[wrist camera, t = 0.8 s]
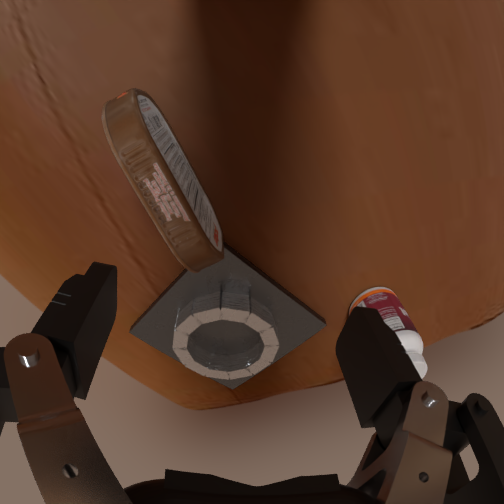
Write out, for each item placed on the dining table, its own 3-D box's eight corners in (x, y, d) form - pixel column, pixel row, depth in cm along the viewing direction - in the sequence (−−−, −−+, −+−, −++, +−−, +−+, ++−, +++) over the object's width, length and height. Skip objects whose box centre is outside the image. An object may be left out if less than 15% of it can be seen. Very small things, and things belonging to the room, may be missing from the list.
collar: (216, 236, 30) (214, 256, 27) (324, 319, 36) (331, 341, 33) (131, 326, 36) (124, 347, 33) (232, 383, 42) (232, 404, 39)
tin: (122, 98, 23) (78, 111, 16) (154, 80, 23) (120, 83, 15) (201, 241, 31) (192, 297, 23) (232, 228, 30) (231, 282, 23)
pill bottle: (397, 314, 37) (432, 382, 27) (351, 331, 38) (377, 404, 28) (393, 276, 34) (436, 347, 24) (343, 295, 35) (373, 373, 25)
